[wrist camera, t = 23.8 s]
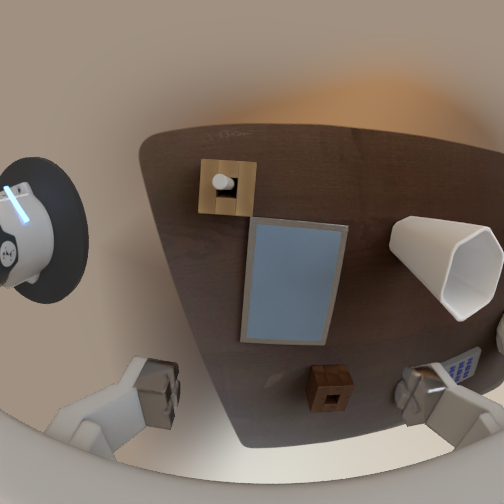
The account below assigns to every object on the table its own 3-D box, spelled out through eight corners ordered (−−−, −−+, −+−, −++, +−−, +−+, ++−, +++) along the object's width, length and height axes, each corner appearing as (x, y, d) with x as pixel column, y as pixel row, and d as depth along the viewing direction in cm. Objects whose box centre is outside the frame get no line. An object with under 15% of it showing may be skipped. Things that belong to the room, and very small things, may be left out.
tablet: (240, 339, 45) (240, 342, 44) (250, 215, 40) (250, 216, 39) (323, 342, 46) (325, 345, 45) (346, 224, 40) (348, 226, 39)
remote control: (469, 370, 50) (474, 375, 48) (394, 402, 51) (397, 409, 49) (477, 345, 48) (482, 350, 46) (398, 378, 49) (403, 384, 47)
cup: (426, 196, 39) (501, 216, 22) (438, 253, 41) (504, 291, 25) (370, 222, 40) (434, 256, 23) (386, 280, 42) (442, 334, 26)
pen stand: (305, 390, 49) (310, 412, 43) (311, 364, 47) (318, 387, 41) (337, 389, 49) (344, 410, 43) (345, 364, 47) (354, 385, 41)
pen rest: (205, 206, 39) (198, 213, 34) (208, 160, 37) (201, 159, 32) (252, 209, 39) (252, 217, 34) (256, 163, 38) (256, 162, 32)
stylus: (226, 189, 39) (211, 189, 25) (226, 179, 38) (212, 173, 25) (236, 189, 39) (227, 189, 25) (237, 179, 38) (228, 174, 25)
